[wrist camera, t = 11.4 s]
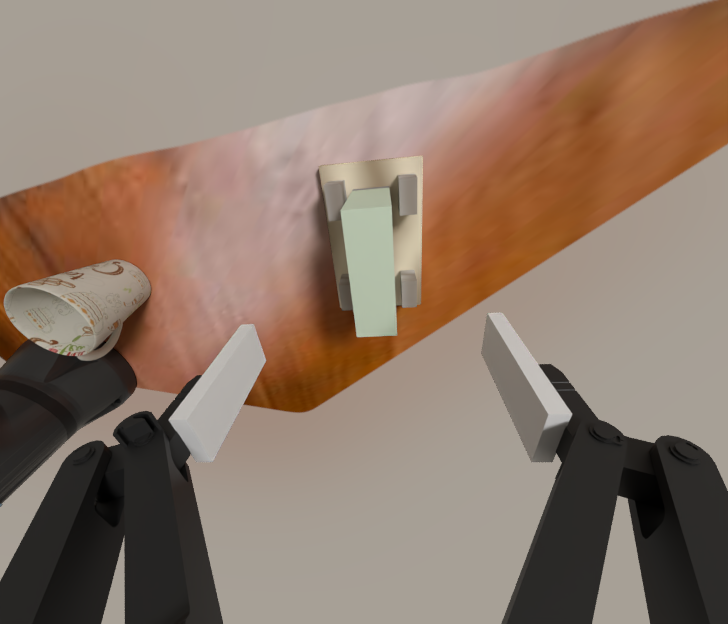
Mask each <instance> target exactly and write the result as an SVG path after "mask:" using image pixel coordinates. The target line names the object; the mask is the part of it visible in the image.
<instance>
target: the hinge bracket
mask: <svg viewBox="0 0 728 624" xmlns="http://www.w3.org/2000/svg"><path fill="white" fill-rule="evenodd" d="M319 173H320V179H321V186H322V192H323V199H324V205H325V212H326V218H327V225H328V231H329V238H330V244H331V251H332V257H333V264H334V270H335V277H336V283H337V290H338V296H339V303H340V308H342V311H344V310H353V303H352V296H351V288H350V280H349V273H348V265H347V257H346V250H345V242H344V234H343V227H342V219H341V211H340V210H341V209H342V207H343V205H344V204H345V202H346V200H347V199H348V197H349V195H350V194H351V192H352V190H353V189H363V188H373V187H384V186H389V189H390V197H391V205H392V226H393V250H394V274H395V297H396V305H402V308H405V307H417V304H421V259H422V182H423V156H412V157H402V158H392V159H382V160H371V161H361V162H351V163H341V164H331V165H321V166H319Z"/></svg>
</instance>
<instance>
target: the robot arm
mask: <svg viewBox="0 0 728 624" xmlns="http://www.w3.org/2000/svg"><path fill="white" fill-rule="evenodd" d="M104 344H105V343H104V342H102V343H101V344H100V345H99V346H98V347H96V348H95V349H94V350H97V349H99V348H101V347H102V346H103V345H104ZM481 354H482V356H483V358H484V360H485V362H486V364H487V366H488V369H489V371H490V373H491V375H492V377H493V380H494V382H495V384H496V386H497V388H498V391H499V393H500V395H501V397H502V399H503V401H504V403H505V406H506V408H507V410H508V412H509V414H510V417H511V419H512V421H513V422H514V425H515V427H516V429H517V431H518V434H519V436H520V438H521V440H522V442H523V445H524V447H525V449H526V451H527V453H528V455H529V458H530V460H531V462H553V459H554V457H555V455H556V453H557V455H558V457H559V458H560V460H561V462H562V464H561V466H560V469H559V471H558V473H557V475H556V478H555V479H556V480H555V483H554V485H553V488H552V491H551V493H550V496H549V499H548V501H547V504H546V506H545V509H544V512H543V514H542V517H541V520H540V523H539V525H538V528H537V530H536V533H535V536H534V539H533V541H532V544H531V547H530V549H529V552H528V554H527V557H526V560H525V563H524V565H523V568H522V570H521V573H520V576H519V578H518V581H517V584H516V587H515V589H514V592H513V594H512V597H511V600H510V603H509V605H508V608H507V610H506V613H505V616H504V619H503V621H502V624H592V620H593V615H594V610H595V605H596V600H597V595H598V590H599V585H600V580H601V575H602V570H603V565H604V560H605V555H606V550H607V545H608V540H609V535H610V530H611V525H612V520H613V515H614V510H615V505H616V500H617V495H618V496H622V497H625V498H628V503H629V509H630V514H631V519H632V525H633V531H634V536H635V542H636V547H637V553H638V558H639V563H640V569H641V575H642V581H643V586H644V592H645V597H646V603H647V608H648V613H649V619H650V624H728V491H727V488H726V486H725V484H724V482H723V480H722V478H721V475H720V473H719V471H718V469H717V466H716V464H715V462H714V461H713V460H712V458H711V457H710V455H709V454H707V453H706V452H705V451H704V450H703V449H701V448H700V447H698V446H697V445H695V444H693V443H691V442H690V441H687V440H685V439H682V438H679V437H674V436H669V435H667V436H661V437H660V438H658V439H657V440H656V442H655V443H651V442H646V441H642V440H638V439H634V438H629V437H626V436H624V435H623V434H622V433H621V432H620V431H619V430H618V429H617V428H615V427H614V426H612V425H610V424H609V423H607V422H604V421H601V420H599V419H598V418H597V417H596V416H595V414H594V413H593V412H592V411H591V409H590V408H589V407H588V405H587V404H586V403H585V401H584V400H583V399H582V398H581V396H580V395H579V394H578V393H577V391H575V389H574V387H573V386H572V385H571V383H569V381H568V379H567V378H566V377H565V375H564V374H563V373H562V372H561V371H559V370H558V369H557V368H555V367H554V366H553V365H551V364H540V365H538V364H537V362H536V361H535V359H534V358H533V356H532V355H531V354H530V353H529V351H528V349H527V348H526V346H525V345H524V343H523V342H522V340H521V339H520V338H519V336H518V335H517V333H516V332H515V331H514V329H513V328H512V326H511V325H510V323H509V322H508V320H507V319H506V317H505V316H504V314H503V313H487V319H486V326H485V332H484V338H483V345H482V352H481ZM265 362H266V359H265V356H264V353H263V350H262V347H261V344H260V341H259V338H258V335H257V332H256V329H255V327H254V324H245V325H240V327H239V328H238V329H237V331H236V332H235V333H234V335H233V336H232V337H231V339H230V340H229V341H228V342H227V344H226V345H225V346H224V348H223V349H222V350H221V352H220V353H219V354H218V356H217V357H216V358H215V359H214V361H213V362H212V363H211V365H210V366H209V367H208V369H207V370H206V371H205V373H204V374H203V375H197V376H196V377H195V378H193V379H192V380H191V381H189V382H188V383H187V384H186V385H185V387H184V388H183V389H182V390H181V393H179V394H178V395H177V397H176V398H175V400H174V401H173V402H172V403H171V404H170V405H169V407H168V408H167V409H166V410H165V412H164V413H163V414H162V415H161V417H160V418H159V419H158V420H156V418H155V417H154V415H153V414H152V412H148V411H143V412H139V413H136V414H133V415H131V416H129V417H128V418H126V419H125V420H123V421H122V422H121V423H120V424H119V425H118V426H117V427H116V429H115V430H114V433H113V436H114V437H115V438H116V439H117V441H118V442H119V443H120V444H118V445H115V446H111V447H107V446H106V445H105V444H104V443H103V442H102V441H93V442H89V443H87V444H85V445H82V446H81V447H79V448H77V449H76V450H75V451H73V452H72V453H71V454H70V455H69V456H68V457H67V458H66V459H65V461H64V462H63V463H62V465H61V467H60V469H59V471H58V473H57V475H56V476H55V478H54V480H53V482H52V484H51V486H50V488H49V490H48V492H47V494H46V496H45V497H44V499H43V501H42V503H41V505H40V507H39V509H38V511H37V513H36V515H35V517H34V518H33V520H32V522H31V524H30V526H29V528H28V530H27V532H26V533H25V536H24V537H23V539H22V541H21V543H20V545H19V547H18V549H17V551H16V553H15V554H14V556H13V558H12V560H11V562H10V564H9V566H8V568H7V570H6V571H5V573H4V575H3V577H2V579H1V581H0V624H101V622H102V618H103V614H104V610H105V607H106V603H107V599H108V595H109V591H110V588H111V584H112V580H113V576H114V572H115V569H116V565H117V561H118V557H119V553H120V550H121V545H122V542H123V538H124V534H125V624H223V620H222V616H221V612H220V607H219V602H218V598H217V593H216V589H215V584H214V580H213V575H212V570H211V566H210V561H209V557H208V552H207V548H206V543H205V538H204V534H203V529H202V525H201V520H200V516H199V511H198V507H197V502H196V498H195V493H194V488H193V484H192V480H191V475H190V470H189V466H188V465H187V463H186V460H187V459H188V458H189V456H190V454H191V455H192V456H193V458H194V460H195V461H196V462H213V461H214V459H215V457H216V455H217V453H218V451H219V449H220V447H221V445H222V443H223V442H224V440H225V438H226V436H227V434H228V432H229V430H230V428H231V426H232V425H233V423H234V421H235V418H236V417H237V415H238V413H239V411H240V409H241V407H242V406H243V404H244V402H245V400H246V398H247V396H248V394H249V392H250V390H251V388H252V387H253V385H254V383H255V381H256V379H257V377H258V375H259V373H260V371H261V369H262V368H263V366H264V364H265ZM135 388H136V378H135V375H134V372H133V370H132V368H131V367H130V365H129V364H128V363H127V361H126V360H125V359H124V358H123V357H122V356H121V355H120V354H119V353H118V352H116V351H115V350H114V349H113V348H112V349H111V350H110V351H109V352H108V353H107V354H106V355H104V356H102V357H101V358H99V359H96V360H92V361H83V360H80V359H78V358H77V356H67V355H62V354H58V353H55V352H52V351H49V350H47V349H45V348H43V347H41V346H39V345H37V344H36V343H34V342H33V341H31V340H30V339H28V340H27V341H26V342H24V343H23V344H22V345H21V346H20V347H19V348H18V349H17V351H16V352H15V353H14V354H13V355H12V356H11V357H10V358H9V359H8V360H7V362H6V363H5V364H4V365H3V366H2V367H1V368H0V507H1V506H2V503H3V502H4V501H5V500H6V499H7V498H8V497H9V496H10V495H11V494H12V493H13V492H14V491H15V490H16V489H17V488H18V487H20V486H21V485H22V484H23V483H24V482H25V481H26V480H27V479H28V478H29V477H30V476H31V475H32V474H33V473H34V472H35V471H36V470H37V469H38V468H39V467H40V466H41V465H42V464H43V463H44V462H45V461H46V460H48V459H49V457H51V456H52V455H53V454H54V453H55V452H56V451H57V450H58V449H59V448H60V447H61V446H62V445H63V444H64V443H65V442H66V441H67V440H68V439H69V438H70V437H71V436H72V435H73V434H75V433H76V432H77V431H78V430H79V429H80V428H82V427H84V426H86V425H87V424H89V423H91V422H93V421H94V420H96V419H98V418H99V417H102V416H103V415H105V414H107V413H109V412H110V411H112V410H114V409H115V408H117V407H119V406H120V405H121V404H123V403H124V402H125V401H126V400H127V399H128V398H129V397H130V396H131V395H132V394H133V392H134V391H135Z"/></svg>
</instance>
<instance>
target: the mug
mask: <svg viewBox="0 0 728 624" xmlns="http://www.w3.org/2000/svg"><path fill="white" fill-rule="evenodd" d="M150 294H151V286H150V283H149V280H148V279H147V277H146V276H145V274H144V273H143V272H142V271H141V270H140V269H139V268H137V267H136V266H134V265H133V264H131V263H129V262H126V261H123V260H110V261H106V262H102V263H98V264H95V265H91V266H87V267H84V268H80V269H76V270H73V271H69V272H65V273H62V274H58V275H54V276H51V277H47V278H44V279H40V280H36V281H33V282H29V283H25V284H22V285H19V286H17V287H14V288H12V289H11V290H9V291H8V292H7V294H6V295H5V298H4V307H5V311H6V313H7V315H8V317H9V319H10V320H11V322H12V323H13V324H14V326H15V327H16V328H17V329H18V330H19V331H20V332H21V333H22V334H23V335H25V336H26V337H27V338H28V339H30V340H31V341H33V342H34V343H36V344H37V345H39V346H41V347H43V348H45V349H47V350H49V351H52V352H55V353H58V354H62V355H67V356H77V358H78V359H80V360H83V361H92V360H96V359H99V358H101V357H102V356H104V355H106V354H107V353H108V352H109V351H110V350H111V349H112V348H113V347H114V346H115V344H116V343H117V341H118V339H119V336H120V333H121V330H122V326H123V322H124V321H125V320H126V319H127V318H128V317H129V316H130V315H131V314H132V313H133V312H134V311H135V310H136V309H137V308H139V307H140V306H141V305H142V304H143V303H144V302H145V301H146V300H147V299H148V297H149V296H150ZM111 333H112V334H111ZM110 334H111V336H110V338H109V340H108V341H107V342H106V343H105V344H104V345H103V346H102V347H101V348H99V349H97V350H94V349H95V348H96V347H98V346H99V345H100V344H101V343H102V342H103V341H104V340H105V339H106V338H107V337H108V336H109V335H110Z"/></svg>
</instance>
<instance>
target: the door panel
mask: <svg viewBox="0 0 728 624" xmlns="http://www.w3.org/2000/svg"><path fill="white" fill-rule="evenodd" d="M340 211H341V219H342V227H343V234H344V242H345V250H346V257H347V265H348V273H349V280H350V288H351V296H352V303H353V311H354V319H355V326H356V334H357V337H371V336H395V335H397V321H396V297H395V274H394V250H393V226H392V205H391V197H390V189H389V186H384V187H373V188H363V189H353V190H352V192H351V194H350V195H349V197H348V199H347V200H346V202H345V204H344V205H343V207H342V209H341V210H340Z"/></svg>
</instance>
